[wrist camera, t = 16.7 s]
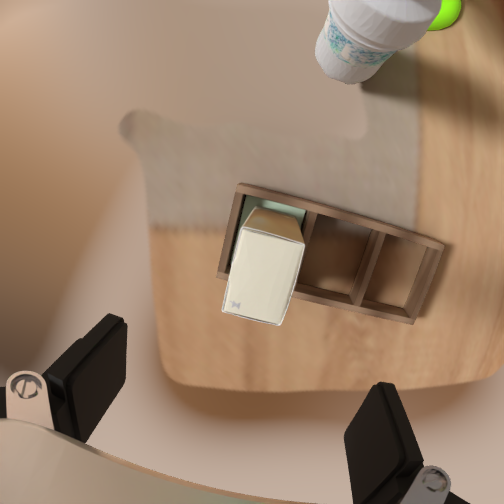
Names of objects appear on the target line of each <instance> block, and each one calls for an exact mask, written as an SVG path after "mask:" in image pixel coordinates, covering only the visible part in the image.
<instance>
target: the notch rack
mask: <svg viewBox="0 0 504 504" xmlns="http://www.w3.org/2000/svg"><path fill="white" fill-rule="evenodd" d="M245 194H247V195H251V196H255V197H259V198H263V199H267V200H271V201H274V202H278V203H282V204H286V205H290V206H293V207H297V208H301V209H305V210H307V213H306V216H305V220H304V224H303V227H302V231H301V234H302V237H303V240H304V243H305V248H304V252H303V257H302V261H301V264H300V268H299V272H298V276H297V279H296V283H295V286H294V290H293V293H292V296H291V297H293V298H297V299H301V300H305V301H310V302H314V303H318V304H322V305H326V306H330V307H335V308H339V309H343V310H348V311H352V312H356V313H361V314H365V315H370V316H374V317H379V318H383V319H388V320H392V321H397V322H401V323H406V324H411V325H413V324H414V322H415V320H416V318H417V315H418V313H419V311H420V309H421V306H422V304H423V302H424V299H425V297H426V294H427V292H428V290H429V287H430V285H431V282H432V280H433V277H434V274H435V272H436V269H437V267H438V264H439V261H440V258H441V256H442V253H443V250H444V247H445V245H444V244H442V243H440V242H438V241H437V240H435V239H432V238H429V237H426V236H423V235H420V234H418V233H415V232H412V231H409V230H406V229H402V228H399V227H396V226H393V225H390V224H387V223H384V222H381V221H378V220H374V219H371V218H368V217H365V216H361V215H358V214H355V213H351V212H348V211H345V210H341V209H338V208H334V207H331V206H327V205H324V204H320V203H317V202H313V201H310V200H306V199H302V198H299V197H295V196H291V195H287V194H284V193H280V192H276V191H272V190H268V189H264V188H260V187H256V186H252V185H248V184H244V183H239V184H237V187H236V192H235V196H234V200H233V204H232V209H231V213H230V217H229V222H228V226H227V231H226V235H225V239H224V244H223V248H222V253H221V257H220V262H219V266H218V271H217V276H216V278H219V279H223V280H226V281H228V279H229V274H230V270H231V266H230V265H228V264H229V260H230V255H231V251H232V247H233V242H234V238H235V234H236V230H237V225H238V221H239V217H240V213H241V209H242V204H243V200H244V196H245ZM317 213H319V214H323V215H326V216H330V217H333V218H337V219H340V220H344V221H347V222H351V223H354V224H357V225H361V226H364V227H367V228H371V229H372V230H371V233H370V237H369V240H368V243H367V246H366V249H365V252H364V255H363V258H362V261H361V264H360V267H359V269H358V272H357V275H356V278H355V281H354V283H353V286H352V289H351V292H350V294H349V296H348V295H344V294H340V293H336V292H332V291H328V290H324V289H320V288H316V287H312V286H308V285H304V284H300V283H297V281H298V277H299V274H300V271H301V268H302V264H303V261H304V258H305V254H306V251H307V248H308V244H309V241H310V238H311V234H312V231H313V227H314V224H315V220H316V217H317ZM386 233H387V234H390V235H393V236H397V237H400V238H403V239H406V240H409V241H412V242H415V243H418V244H421V245H425V246H427V249H426V252H425V254H424V257H423V260H422V263H421V266H420V268H419V271H418V274H417V276H416V279H415V281H414V284H413V286H412V289H411V291H410V294H409V296H408V299H407V301H406V303H405V306H404V308H399V307H394V306H390V305H386V304H382V303H378V302H373V301H369V300H365V299H363V297H364V294H365V292H366V289H367V287H368V284H369V281H370V278H371V276H372V273H373V270H374V267H375V265H376V262H377V259H378V256H379V253H380V250H381V247H382V244H383V241H384V238H385V235H386Z"/></svg>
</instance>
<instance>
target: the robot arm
mask: <svg viewBox="0 0 504 504" xmlns="http://www.w3.org/2000/svg"><path fill="white" fill-rule="evenodd" d="M126 349H127V324H126V323H124V319H123V318H121V317H118V316H116V315H113V314H110V313H109V314H107V315H106V316H105V317H104V318H103V319H102V320H101V321H100V322H99V323H98V324H97V325H96V326H95V327H94V328H92V330H90V331H89V332H88V333H87V334H86V335H85V336H84V337H83V338H80V339H78V340H77V341H75V343H73V344H72V345H71V346H70V347H69V348H68V349H67V350H66V351H65V352H64V353H63V354H62V355H61V356H60V357H59V358H58V359H57V360H56V361H55V362H54V363H53V364H52V365H51V366H50V367H49V368H48V369H47V370H46V371H45V372H44V373H43V374H42V375H41V376H40V375H39V374H37V373H35V372H32V371H20V372H17V373H15V374H13V375H12V376H10V377H9V379H8V381H7V384H6V387H0V504H316V503H303V502H293V501H284V500H277V499H269V498H263V497H257V496H251V495H245V494H240V493H235V492H230V491H225V490H220V489H216V488H212V487H208V486H204V485H200V484H196V483H192V482H189V481H185V480H182V479H178V478H175V477H172V476H168V475H165V474H162V473H159V472H156V471H153V470H150V469H147V468H144V467H142V466H139V465H136V464H133V463H131V462H128V461H126V460H123V459H120V458H118V457H115V456H113V455H110V454H108V453H105V452H103V451H101V450H98V449H96V448H94V447H92V446H89V445H87V444H85V443H86V442H87V440H88V439H89V437H90V435H91V434H92V432H93V431H94V429H95V428H96V426H97V425H98V423H99V421H100V420H101V418H102V417H103V415H104V414H105V412H106V410H107V409H108V408H109V406H110V405H111V403H112V402H113V400H114V399H115V397H116V396H117V394H118V392H119V391H120V389H121V388H122V387H123V385H124V383H125V379H126ZM344 443H345V449H346V455H347V461H348V469H349V475H350V482H351V490H352V497H353V504H470V503H468V502H466V501H465V500H463V499H461V498H460V497H458V496H456V495H455V494H453V493H452V492H450V491H449V490H450V486H451V481H450V478H449V476H448V474H447V473H446V472H445V471H444V470H442V469H441V468H439V467H436V466H425V467H424V465H423V461H424V460H423V457H422V454H421V452H420V449H419V446H418V443H417V441H416V438H415V435H414V433H413V430H412V427H411V425H410V422H409V420H408V417H407V415H406V412H405V410H404V407H403V405H402V402H401V400H400V397H399V395H398V393H397V390H396V388H395V385H394V384H392V383H386V382H379V383H377V385H373V386H372V388H371V389H370V391H369V393H368V395H367V397H366V398H365V400H364V402H363V403H362V405H361V407H360V408H359V410H358V412H357V413H356V415H355V417H354V418H353V420H352V421H351V423H350V425H349V426H348V428H347V429H346V431H345V434H344Z"/></svg>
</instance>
